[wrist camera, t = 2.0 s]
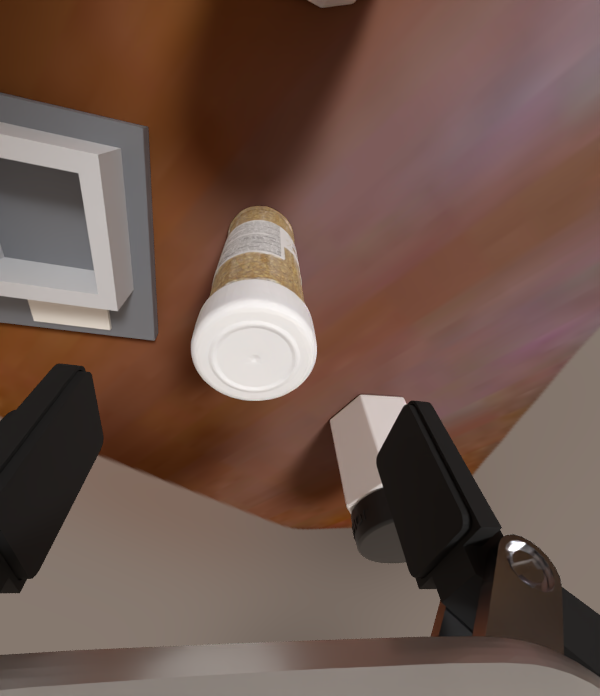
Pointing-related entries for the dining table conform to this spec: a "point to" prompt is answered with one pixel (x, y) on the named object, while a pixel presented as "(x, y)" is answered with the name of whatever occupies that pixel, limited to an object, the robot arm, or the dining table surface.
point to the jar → (367, 473)
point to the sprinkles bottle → (255, 313)
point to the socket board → (75, 221)
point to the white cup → (331, 2)
